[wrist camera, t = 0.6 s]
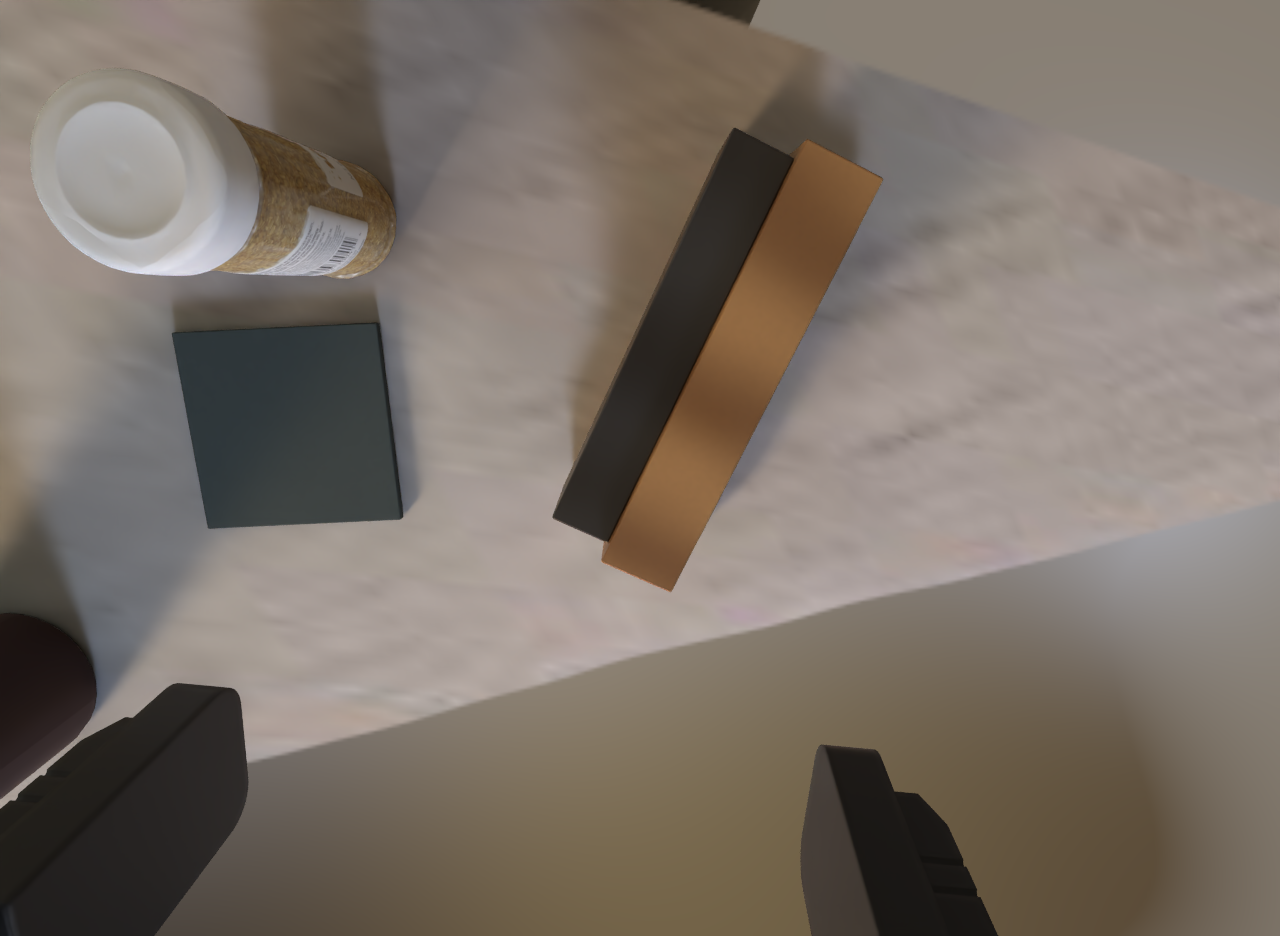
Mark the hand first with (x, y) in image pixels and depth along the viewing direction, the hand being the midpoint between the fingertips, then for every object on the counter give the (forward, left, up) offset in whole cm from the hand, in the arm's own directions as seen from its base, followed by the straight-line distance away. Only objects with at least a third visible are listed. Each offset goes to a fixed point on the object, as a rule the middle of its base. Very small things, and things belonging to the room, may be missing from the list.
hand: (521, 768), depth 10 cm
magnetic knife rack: (-4, +5, -23) cm, 23 cm away
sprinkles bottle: (-10, -10, -23) cm, 27 cm away
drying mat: (-1, -13, -23) cm, 26 cm away
